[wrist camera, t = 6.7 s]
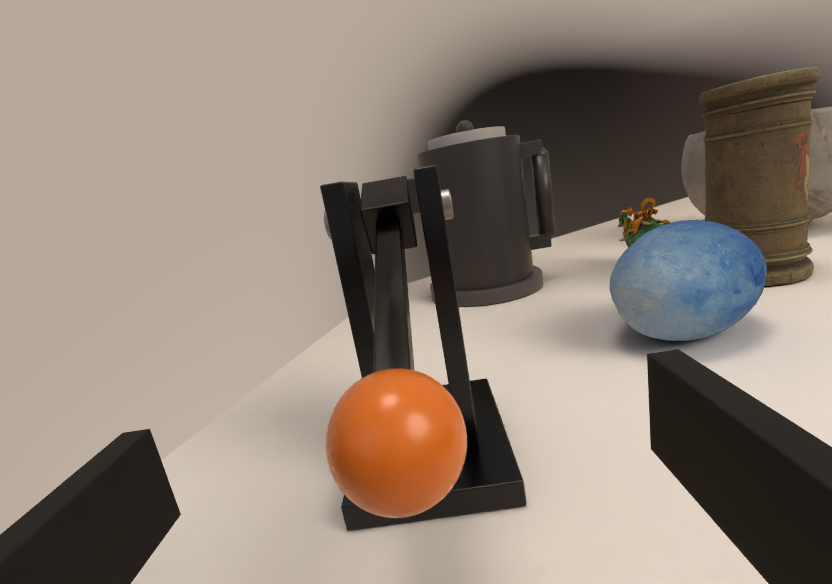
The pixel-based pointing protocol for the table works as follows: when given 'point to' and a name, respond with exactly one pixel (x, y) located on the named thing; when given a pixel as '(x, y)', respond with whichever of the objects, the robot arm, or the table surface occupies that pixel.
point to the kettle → (491, 211)
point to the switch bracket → (486, 437)
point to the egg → (688, 280)
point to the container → (762, 166)
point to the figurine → (639, 222)
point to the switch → (394, 388)
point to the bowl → (826, 166)
